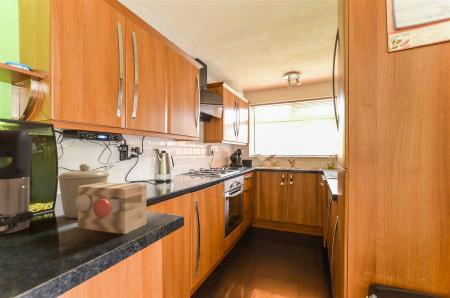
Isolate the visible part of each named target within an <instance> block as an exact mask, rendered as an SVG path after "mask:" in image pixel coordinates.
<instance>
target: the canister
mask: <svg viewBox="0 0 450 298" xmlns="http://www.w3.org/2000/svg"><path fill="white" fill-rule="evenodd" d="M90 167H91V166H90V164H88V163H81V164H80V165H79V170H73V171H71V170H70V171H65V172H62V173H61V174H59V175H56V179H57V180H58V182H59V183H58V184H59V192H60V198H61V205H62V211H63V214H64V216H65V217H66V218H69V219H78V209H77V208H76V205H75V200H76V198H77V197H78V186H84V185H90V184H97V183H108V180H109V176H110V175H111V174H110V173H109V172H107V171H105V170H100V169H99V170H97V169H90Z"/></svg>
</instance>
